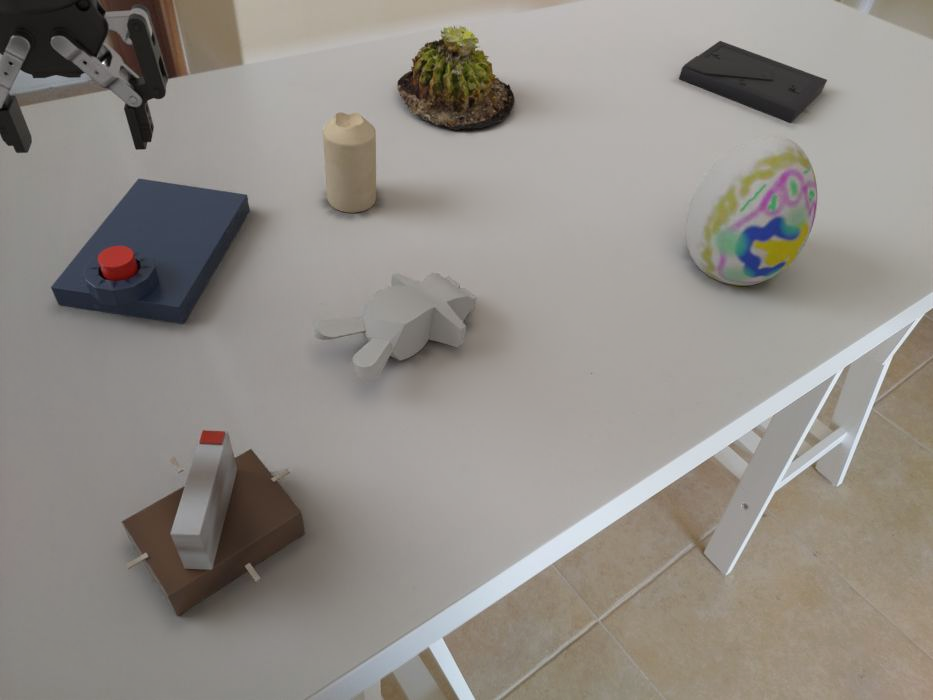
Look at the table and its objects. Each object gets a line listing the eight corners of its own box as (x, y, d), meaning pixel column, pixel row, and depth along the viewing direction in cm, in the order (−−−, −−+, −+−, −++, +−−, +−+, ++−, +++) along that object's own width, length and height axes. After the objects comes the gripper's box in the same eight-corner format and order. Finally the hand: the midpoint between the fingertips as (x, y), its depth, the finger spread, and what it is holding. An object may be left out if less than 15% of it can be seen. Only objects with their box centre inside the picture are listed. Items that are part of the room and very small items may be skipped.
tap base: (179, 657, 48) (169, 638, 45) (101, 526, 53) (88, 503, 51) (338, 550, 54) (335, 527, 51) (251, 442, 59) (246, 418, 57)
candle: (316, 200, 83) (310, 118, 75) (349, 179, 86) (346, 99, 79) (354, 219, 81) (351, 138, 74) (386, 197, 84) (386, 117, 77)
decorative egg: (700, 303, 76) (753, 179, 65) (657, 230, 84) (697, 109, 73) (806, 295, 78) (874, 173, 67) (754, 224, 86) (807, 106, 75)
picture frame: (678, 79, 111) (790, 123, 104) (683, 64, 109) (797, 108, 103) (715, 52, 119) (822, 91, 112) (720, 38, 117) (828, 77, 110)
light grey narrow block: (212, 570, 49) (199, 533, 45) (184, 569, 48) (169, 532, 45) (237, 468, 54) (227, 428, 51) (213, 467, 54) (201, 427, 51)
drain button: (129, 284, 66) (124, 269, 64) (96, 279, 66) (91, 264, 65) (143, 263, 68) (139, 248, 67) (112, 258, 68) (107, 243, 67)
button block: (179, 331, 67) (170, 299, 64) (52, 311, 68) (37, 278, 65) (250, 211, 80) (244, 180, 77) (143, 195, 81) (134, 163, 78)
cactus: (528, 129, 97) (540, 57, 90) (409, 135, 94) (411, 61, 87) (495, 68, 108) (503, 0, 101) (388, 71, 105) (388, 1, 98)
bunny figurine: (501, 299, 68) (374, 362, 59) (490, 340, 71) (369, 406, 62) (432, 248, 72) (304, 299, 63) (425, 289, 75) (303, 344, 66)
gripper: (-146, -66, 42) (-28, 177, 54) (120, -61, 44) (177, 169, 56) (-103, -108, 47) (-4, 123, 59) (135, -101, 49) (183, 118, 61)
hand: (84, 145), depth 57 cm, fingers open, 8 cm apart
